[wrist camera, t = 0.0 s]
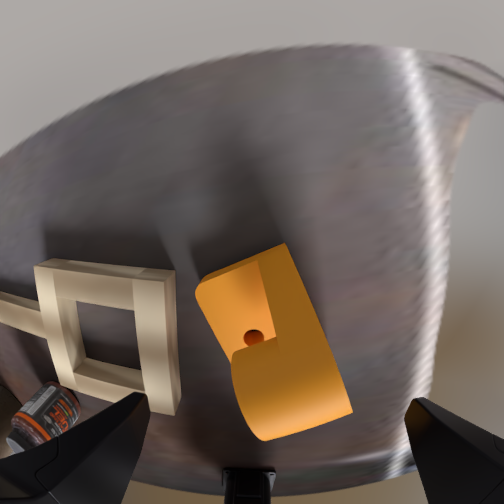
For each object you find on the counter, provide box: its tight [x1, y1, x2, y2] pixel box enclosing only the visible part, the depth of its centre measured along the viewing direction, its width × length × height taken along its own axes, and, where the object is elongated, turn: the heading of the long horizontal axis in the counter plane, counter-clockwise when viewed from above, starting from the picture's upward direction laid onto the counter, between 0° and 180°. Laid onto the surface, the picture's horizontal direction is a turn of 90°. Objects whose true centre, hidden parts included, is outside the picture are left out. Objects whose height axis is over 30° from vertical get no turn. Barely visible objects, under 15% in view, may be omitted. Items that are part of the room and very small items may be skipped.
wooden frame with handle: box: [0, 258, 182, 416], centre depth 22 cm, size 13×25×3 cm, turn 86°
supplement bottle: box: [6, 381, 81, 454], centre depth 21 cm, size 6×6×11 cm
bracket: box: [195, 243, 353, 441], centre depth 17 cm, size 11×7×12 cm, turn 23°
